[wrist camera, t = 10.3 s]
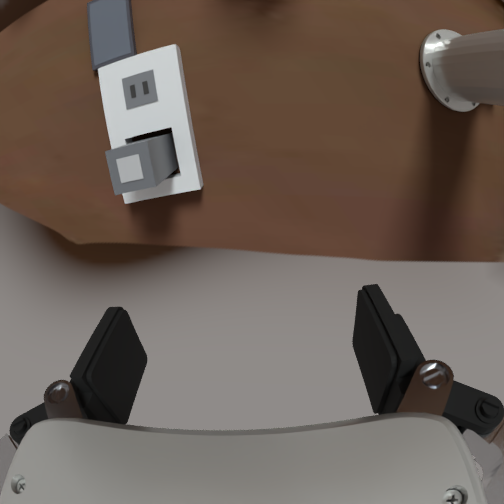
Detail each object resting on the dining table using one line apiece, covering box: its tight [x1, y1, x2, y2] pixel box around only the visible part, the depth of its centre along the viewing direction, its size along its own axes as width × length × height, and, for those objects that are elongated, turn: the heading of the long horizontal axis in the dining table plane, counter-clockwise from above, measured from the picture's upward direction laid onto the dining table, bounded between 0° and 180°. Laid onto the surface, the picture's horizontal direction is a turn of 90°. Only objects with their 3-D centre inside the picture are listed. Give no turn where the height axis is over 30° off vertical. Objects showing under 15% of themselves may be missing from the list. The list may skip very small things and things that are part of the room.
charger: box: [105, 133, 178, 195], centre depth 31 cm, size 4×4×10 cm
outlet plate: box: [98, 44, 203, 204], centre depth 32 cm, size 10×18×3 cm, turn 8°
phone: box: [87, 0, 137, 71], centre depth 26 cm, size 6×11×1 cm, turn 8°
